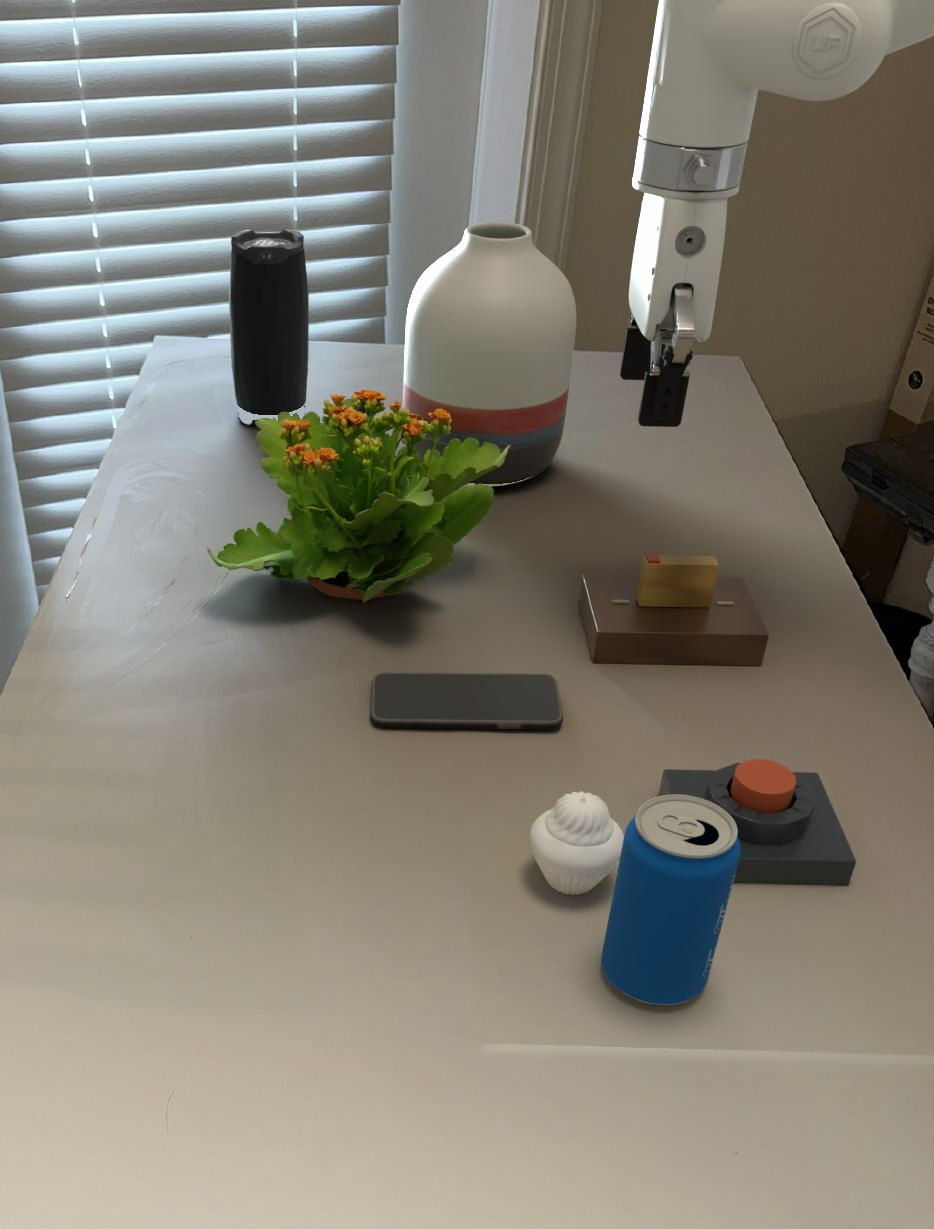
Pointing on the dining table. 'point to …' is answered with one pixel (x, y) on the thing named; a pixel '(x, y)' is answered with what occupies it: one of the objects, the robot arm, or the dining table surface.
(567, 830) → the muffin
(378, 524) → the potted flower
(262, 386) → the portable speaker
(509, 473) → the vase
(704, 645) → the plate
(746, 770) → the button
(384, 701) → the smartphone
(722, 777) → the button block
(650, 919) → the beverage can
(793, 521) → the dining table surface
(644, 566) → the yellow red-marked block
